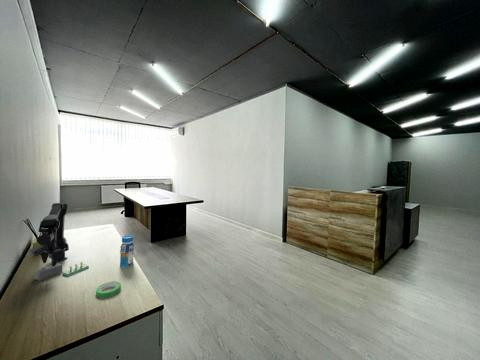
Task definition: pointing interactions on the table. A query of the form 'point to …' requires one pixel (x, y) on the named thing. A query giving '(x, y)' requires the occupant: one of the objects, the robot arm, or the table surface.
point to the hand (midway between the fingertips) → (49, 264)
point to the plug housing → (47, 272)
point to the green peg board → (75, 269)
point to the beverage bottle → (126, 252)
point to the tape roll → (108, 293)
